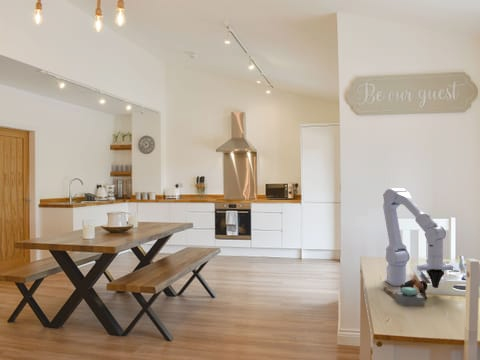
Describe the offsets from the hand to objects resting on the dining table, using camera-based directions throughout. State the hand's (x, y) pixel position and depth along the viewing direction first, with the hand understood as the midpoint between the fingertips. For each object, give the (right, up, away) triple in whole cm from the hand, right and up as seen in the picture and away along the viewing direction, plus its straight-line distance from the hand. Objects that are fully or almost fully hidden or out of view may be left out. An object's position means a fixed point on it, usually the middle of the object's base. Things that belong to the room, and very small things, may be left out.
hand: (435, 287), depth 172 cm
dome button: (-15, -2, -11) cm, 19 cm away
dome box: (-15, -3, -11) cm, 19 cm away
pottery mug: (-9, -3, -3) cm, 10 cm away
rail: (-19, -3, -1) cm, 19 cm away
